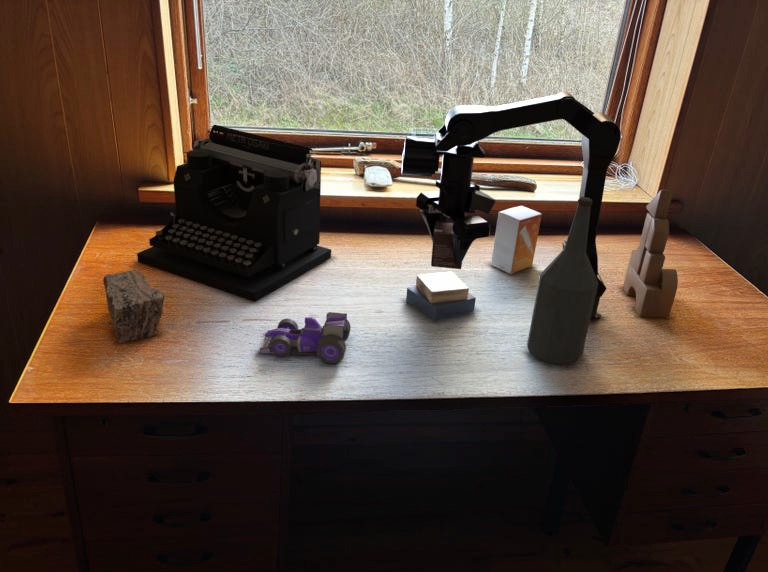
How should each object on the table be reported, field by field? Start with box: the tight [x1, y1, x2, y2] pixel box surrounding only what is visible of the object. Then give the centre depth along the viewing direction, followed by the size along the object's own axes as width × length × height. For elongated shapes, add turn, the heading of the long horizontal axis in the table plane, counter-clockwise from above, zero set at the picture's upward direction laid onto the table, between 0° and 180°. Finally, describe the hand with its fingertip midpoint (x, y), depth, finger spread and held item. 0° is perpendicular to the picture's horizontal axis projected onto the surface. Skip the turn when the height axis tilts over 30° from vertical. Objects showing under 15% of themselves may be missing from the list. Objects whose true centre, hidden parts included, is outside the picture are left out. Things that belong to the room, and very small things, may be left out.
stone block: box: [102, 269, 166, 344], centre depth 134 cm, size 14×9×8 cm, turn 29°
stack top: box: [415, 271, 470, 303], centre depth 149 cm, size 8×8×2 cm
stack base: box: [405, 285, 477, 322], centre depth 151 cm, size 10×10×3 cm
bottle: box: [526, 197, 599, 367], centre depth 131 cm, size 10×10×30 cm
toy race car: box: [259, 311, 352, 365], centre depth 131 cm, size 10×15×6 cm, turn 88°
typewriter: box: [136, 124, 332, 303], centre depth 156 cm, size 31×27×25 cm
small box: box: [490, 205, 543, 275], centre depth 168 cm, size 8×6×13 cm
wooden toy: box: [622, 189, 679, 319], centre depth 155 cm, size 16×7×25 cm, turn 2°
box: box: [430, 221, 463, 270], centre depth 145 cm, size 6×6×7 cm
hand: (447, 255), depth 146 cm, fingers closed on box, 8 cm apart
